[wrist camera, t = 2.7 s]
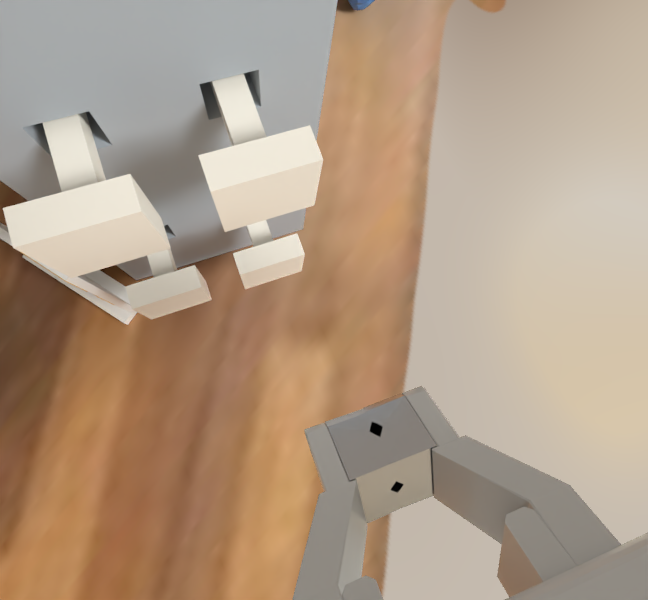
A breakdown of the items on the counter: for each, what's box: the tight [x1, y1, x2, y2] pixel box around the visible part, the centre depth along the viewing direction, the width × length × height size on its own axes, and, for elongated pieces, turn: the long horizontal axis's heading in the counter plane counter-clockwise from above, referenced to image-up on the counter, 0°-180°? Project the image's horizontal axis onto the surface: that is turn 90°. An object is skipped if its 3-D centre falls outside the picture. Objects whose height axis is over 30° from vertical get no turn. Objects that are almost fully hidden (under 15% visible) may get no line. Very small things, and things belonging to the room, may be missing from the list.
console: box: [0, 0, 338, 280], centre depth 21 cm, size 12×8×22 cm, turn 110°
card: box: [0, 223, 137, 325], centre depth 25 cm, size 8×2×10 cm, turn 58°
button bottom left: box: [125, 249, 212, 319], centre depth 24 cm, size 4×6×4 cm, turn 20°
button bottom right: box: [233, 220, 305, 289], centre depth 25 cm, size 4×6×4 cm, turn 20°
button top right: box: [198, 73, 323, 232], centre depth 15 cm, size 4×6×4 cm, turn 20°
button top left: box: [3, 112, 171, 278], centre depth 14 cm, size 4×6×4 cm, turn 20°
